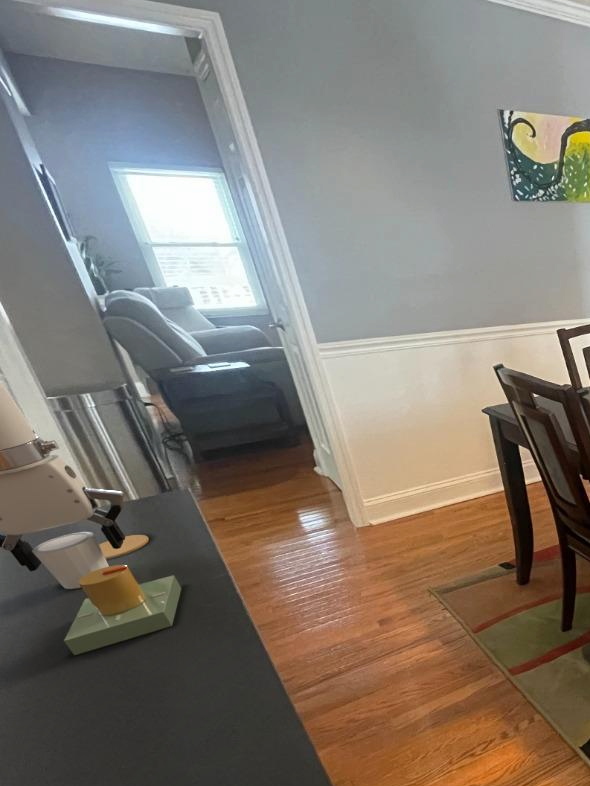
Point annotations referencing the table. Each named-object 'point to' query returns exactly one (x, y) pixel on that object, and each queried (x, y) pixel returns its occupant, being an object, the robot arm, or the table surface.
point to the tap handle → (112, 589)
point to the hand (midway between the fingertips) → (78, 555)
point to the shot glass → (71, 557)
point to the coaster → (124, 546)
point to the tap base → (125, 618)
